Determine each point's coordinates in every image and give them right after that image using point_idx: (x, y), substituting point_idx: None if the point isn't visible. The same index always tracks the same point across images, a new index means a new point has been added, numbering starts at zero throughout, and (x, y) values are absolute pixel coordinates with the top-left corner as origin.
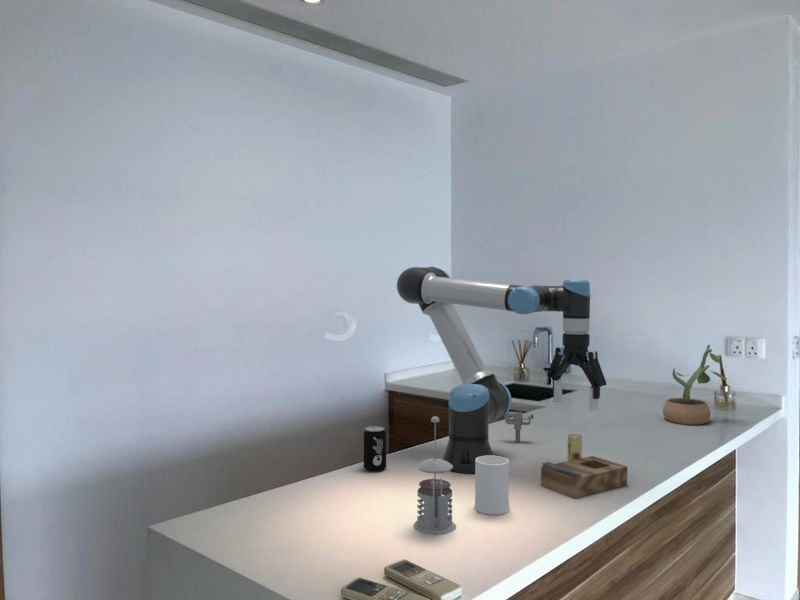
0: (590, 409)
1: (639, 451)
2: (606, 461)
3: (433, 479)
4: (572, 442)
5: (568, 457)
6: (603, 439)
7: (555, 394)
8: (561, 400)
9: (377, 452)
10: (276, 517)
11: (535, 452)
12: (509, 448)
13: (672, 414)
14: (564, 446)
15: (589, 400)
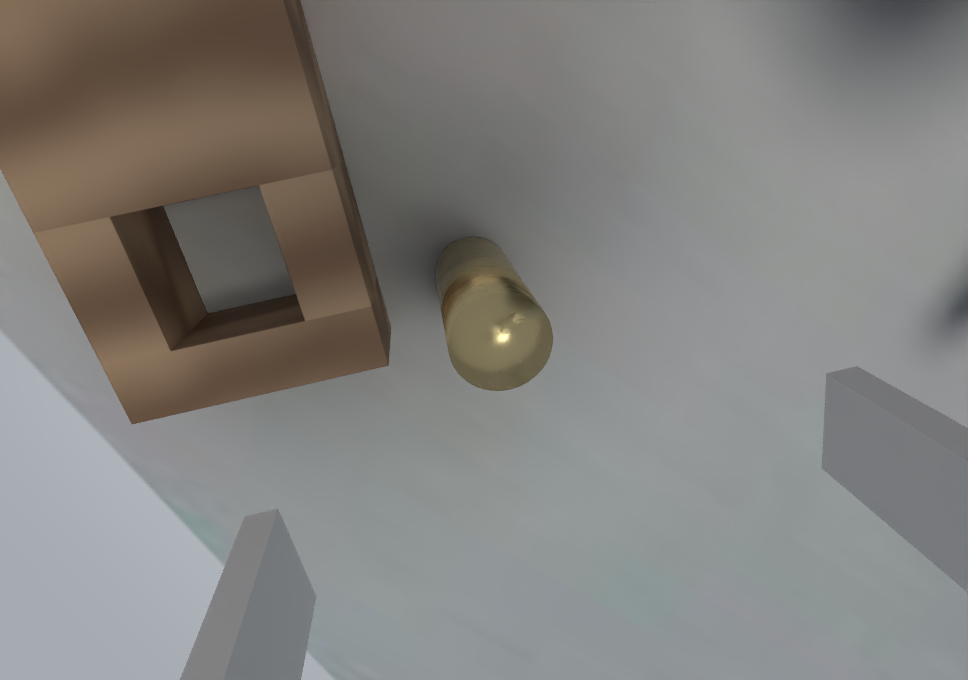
0: (256, 523)
1: (592, 665)
2: (257, 373)
3: None
4: (466, 292)
5: (482, 253)
6: (792, 631)
7: (916, 427)
8: (831, 468)
9: None
10: None
11: (811, 254)
12: (948, 156)
13: None
14: (807, 441)
15: (243, 611)
